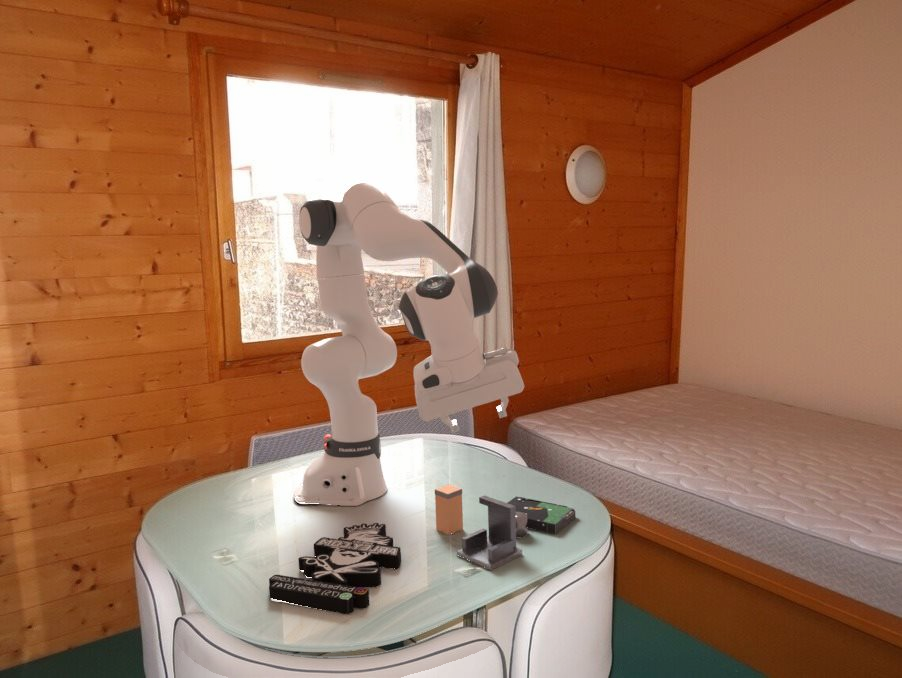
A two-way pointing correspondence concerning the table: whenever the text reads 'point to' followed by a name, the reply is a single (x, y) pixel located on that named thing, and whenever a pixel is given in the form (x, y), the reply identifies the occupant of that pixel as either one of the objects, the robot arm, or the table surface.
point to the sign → (340, 570)
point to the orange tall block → (449, 509)
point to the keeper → (493, 536)
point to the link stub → (521, 524)
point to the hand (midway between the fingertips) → (479, 423)
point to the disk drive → (544, 514)
